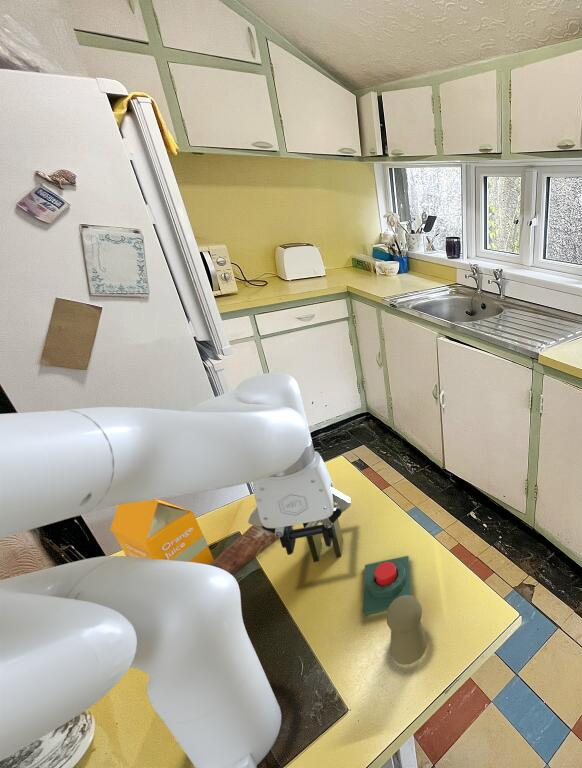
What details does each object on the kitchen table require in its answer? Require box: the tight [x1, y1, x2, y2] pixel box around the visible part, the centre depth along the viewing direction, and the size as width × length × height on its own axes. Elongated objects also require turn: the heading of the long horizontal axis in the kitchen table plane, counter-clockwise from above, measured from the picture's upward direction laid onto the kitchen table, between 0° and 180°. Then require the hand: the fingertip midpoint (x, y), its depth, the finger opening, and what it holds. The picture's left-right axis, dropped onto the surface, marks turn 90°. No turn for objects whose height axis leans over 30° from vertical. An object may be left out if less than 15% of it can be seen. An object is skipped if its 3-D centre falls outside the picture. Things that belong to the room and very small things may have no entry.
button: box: [375, 562, 397, 586], centre depth 73 cm, size 4×4×2 cm
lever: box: [289, 520, 323, 540], centre depth 72 cm, size 12×5×2 cm, turn 16°
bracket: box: [302, 502, 344, 563], centre depth 79 cm, size 12×9×13 cm
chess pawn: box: [385, 595, 428, 666], centre depth 63 cm, size 6×6×11 cm
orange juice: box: [109, 499, 215, 565], centre depth 72 cm, size 8×9×20 cm
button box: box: [362, 555, 413, 617], centre depth 74 cm, size 10×8×4 cm
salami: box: [210, 525, 280, 577], centre depth 79 cm, size 6×19×6 cm, turn 156°
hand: (310, 543), depth 68 cm, fingers closed on lever, 5 cm apart
